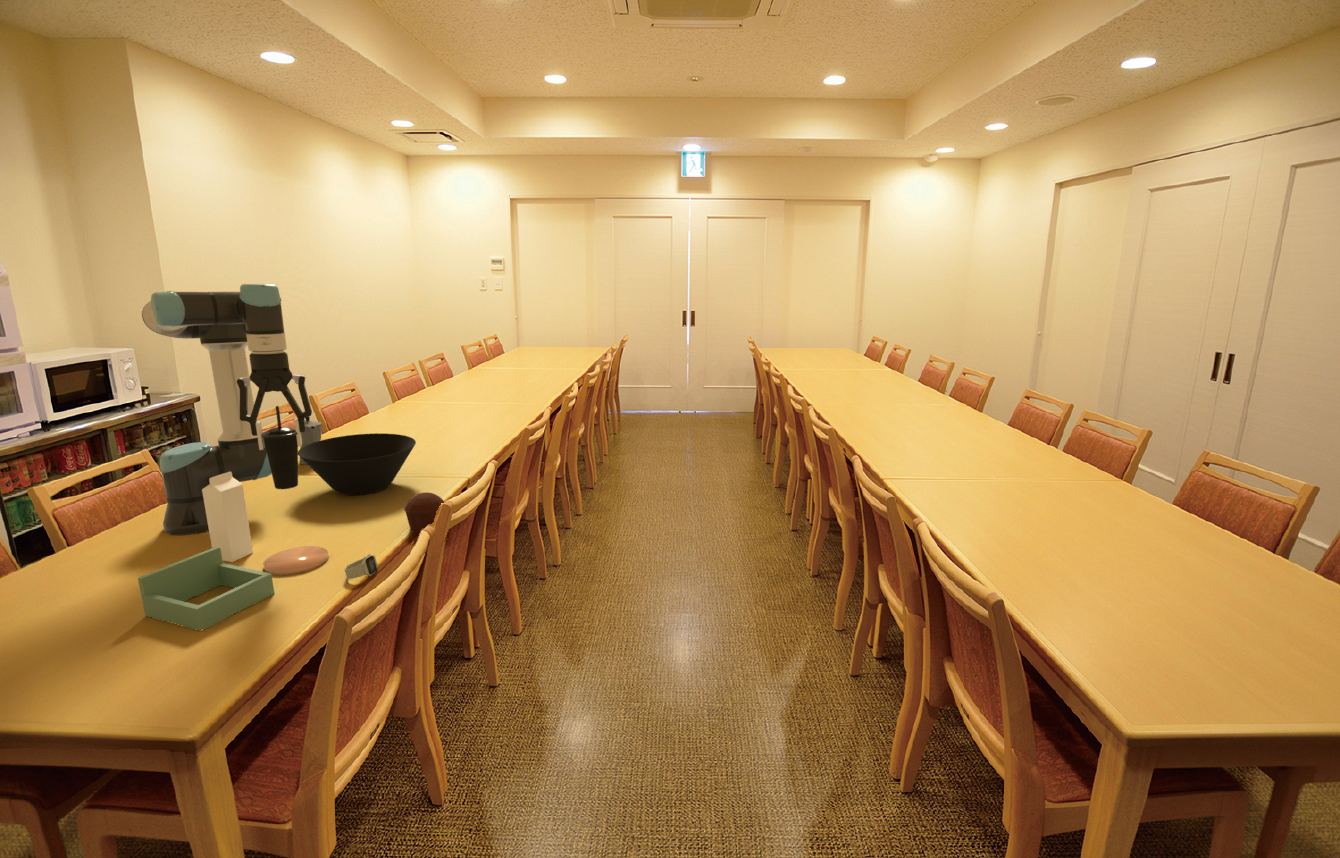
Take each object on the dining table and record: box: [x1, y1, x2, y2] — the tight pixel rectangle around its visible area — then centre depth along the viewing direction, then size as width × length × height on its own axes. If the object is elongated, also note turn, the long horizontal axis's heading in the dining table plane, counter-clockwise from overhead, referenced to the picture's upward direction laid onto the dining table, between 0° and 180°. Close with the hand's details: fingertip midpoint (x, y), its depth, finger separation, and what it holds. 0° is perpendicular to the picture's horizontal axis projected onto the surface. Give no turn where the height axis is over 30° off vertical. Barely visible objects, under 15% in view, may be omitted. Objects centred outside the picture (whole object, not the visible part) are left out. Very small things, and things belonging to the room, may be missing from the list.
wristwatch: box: [343, 554, 379, 580], centre depth 150 cm, size 9×6×5 cm
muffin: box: [403, 492, 445, 534], centre depth 177 cm, size 12×11×10 cm
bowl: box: [298, 432, 417, 496], centre depth 209 cm, size 36×36×15 cm
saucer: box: [263, 545, 329, 576], centre depth 155 cm, size 14×14×1 cm
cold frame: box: [137, 547, 275, 632], centre depth 134 cm, size 16×16×9 cm
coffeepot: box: [298, 416, 323, 466], centre depth 238 cm, size 15×9×18 cm, turn 44°
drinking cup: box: [261, 405, 299, 490], centre depth 148 cm, size 8×8×20 cm
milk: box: [202, 472, 254, 563], centre depth 156 cm, size 6×6×22 cm
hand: (281, 446), depth 148 cm, fingers closed on drinking cup, 7 cm apart
